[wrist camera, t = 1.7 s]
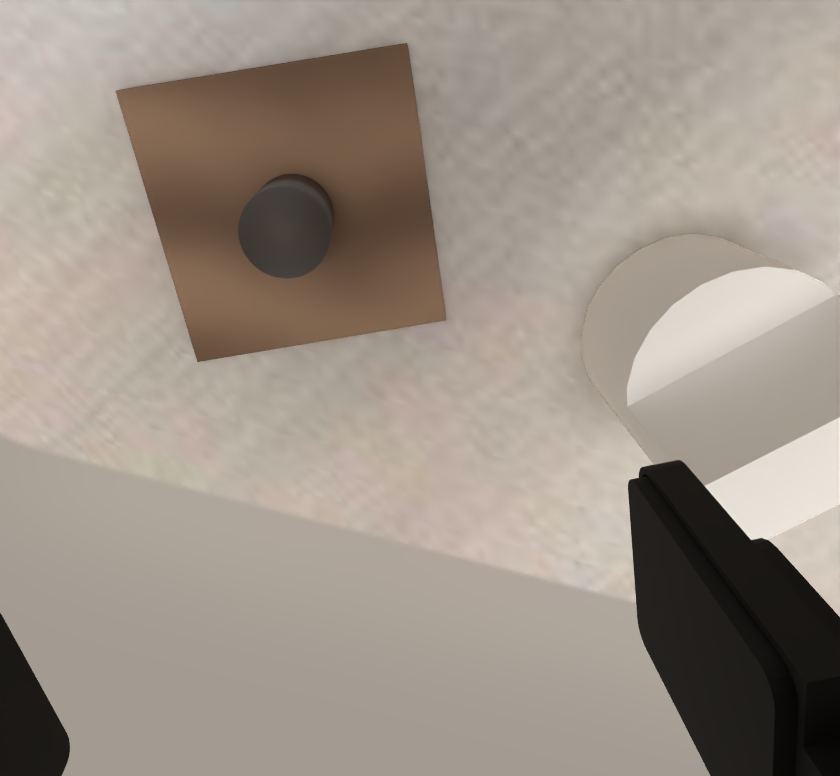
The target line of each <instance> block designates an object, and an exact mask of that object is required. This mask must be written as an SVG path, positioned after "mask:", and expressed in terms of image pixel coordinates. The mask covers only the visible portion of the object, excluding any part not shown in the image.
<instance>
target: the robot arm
mask: <svg viewBox="0 0 840 776" xmlns="http://www.w3.org/2000/svg"><path fill="white" fill-rule="evenodd" d="M628 494H629V507H630V521H631V535H632V549H633V562H634V576H635V590H636V604H637V618H638V625H639V630H640V634H641V637H642V640H643V643H644V645H645V647H646V649H647V651H648V653H649V655H650V657H651V659H652V661H653V663H654V665H655V667H656V669H657V671H658V673H659V675H660V677H661V679H662V681H663V683H664V685H665V687H666V689H667V691H668V693H669V694H670V697H671V699H672V700H673V703H674V704H675V706H676V708H677V710H678V712H679V714H680V716H681V718H682V720H683V722H684V724H685V726H686V728H687V730H688V732H689V734H690V736H691V738H692V740H693V742H694V744H695V746H696V748H697V750H698V752H699V754H700V756H701V758H702V760H703V762H704V763H705V766H706V768H707V770H708V771H709V773H710V775H711V776H840V617H839V616H838V615H837V614H836V613H835V611H834V610H833V609H832V608H831V607H830V606H829V605H828V604H827V603H826V601H825V600H824V599H823V598H822V597H821V596H820V595H819V594H818V593H817V592H816V590H815V589H814V588H813V587H812V586H811V585H810V584H809V583H808V582H807V580H806V579H805V578H804V577H803V576H802V575H801V574H800V573H799V572H798V570H797V569H796V568H795V567H794V566H793V565H792V564H791V563H790V562H789V561H788V559H787V558H786V557H785V556H784V555H783V554H782V553H781V552H780V551H779V549H778V548H777V547H776V546H774V545H773V544H772V543H771V542H770V541H769V540H766V539H763V538H759V539H754V540H751V539H750V538H749V537H748V536H747V535H746V534H745V532H744V531H743V530H742V529H741V528H740V527H739V525H738V524H737V523H736V522H735V521H734V520H733V518H732V517H731V516H730V515H729V514H728V513H727V512H726V510H725V509H724V508H723V507H722V506H721V505H720V503H719V502H718V501H717V500H716V499H715V498H714V496H713V495H712V494H711V493H710V492H709V491H708V489H707V488H706V487H705V486H704V485H703V484H702V483H701V481H700V480H699V479H698V478H697V477H696V476H695V474H694V473H693V472H692V471H691V470H690V469H689V467H688V466H687V465H686V464H685V463H684V462H683V461H682V460H675V461H670V462H665V463H660V464H655V465H650V466H645V467H642V468H641V469H640V472H639V478H636V479H631V480H630V481H629V483H628ZM69 752H70V743H69V738H68V735H67V733H66V731H65V729H64V727H63V726H62V724H61V722H60V720H59V718H58V717H57V715H56V713H55V711H54V709H53V707H52V706H51V704H50V702H49V700H48V698H47V696H46V695H45V693H44V691H43V689H42V687H41V686H40V684H39V682H38V680H37V678H36V677H35V675H34V673H33V671H32V669H31V667H30V666H29V664H28V662H27V660H26V658H25V657H24V655H23V653H22V651H21V649H20V647H19V646H18V644H17V642H16V640H15V639H14V637H13V635H12V633H11V631H10V629H9V627H8V626H7V624H6V622H5V620H4V618H3V617H2V615H1V614H0V776H61V775H62V773H63V771H64V768H65V766H66V764H67V761H68V758H69Z"/></svg>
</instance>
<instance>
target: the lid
mask: <svg viewBox="0 0 840 776" xmlns="http://www.w3.org/2000/svg"><path fill="white" fill-rule="evenodd" d="M116 93H117V97H118V100H119V103H120V107H121V110H122V113H123V117H124V120H125V123H126V127H127V130H128V133H129V136H130V140H131V143H132V146H133V150H134V153H135V156H136V160H137V163H138V166H139V170H140V173H141V176H142V179H143V183H144V186H145V189H146V193H147V196H148V199H149V203H150V206H151V209H152V213H153V216H154V219H155V222H156V226H157V229H158V232H159V236H160V239H161V242H162V246H163V249H164V252H165V256H166V259H167V262H168V265H169V269H170V272H171V275H172V279H173V282H174V285H175V289H176V292H177V295H178V299H179V302H180V305H181V308H182V312H183V315H184V318H185V322H186V325H187V328H188V332H189V335H190V338H191V341H192V345H193V348H194V351H195V355H196V358H197V361H198V362H200V361H206V360H212V359H218V358H224V357H230V356H236V355H242V354H248V353H254V352H259V351H265V350H271V349H277V348H283V347H289V346H295V345H301V344H307V343H313V342H319V341H325V340H331V339H337V338H343V337H349V336H355V335H361V334H367V333H373V332H379V331H385V330H391V329H397V328H403V327H409V326H414V325H420V324H426V323H432V322H438V321H444V320H446V315H445V308H444V301H443V293H442V286H441V279H440V272H439V265H438V258H437V251H436V244H435V237H434V229H433V222H432V215H431V208H430V201H429V194H428V187H427V180H426V173H425V166H424V158H423V151H422V144H421V137H420V130H419V123H418V116H417V109H416V102H415V95H414V87H413V80H412V73H411V66H410V59H409V52H408V45H407V43H405V44H398V45H392V46H386V47H380V48H374V49H368V50H362V51H356V52H350V53H343V54H337V55H331V56H325V57H319V58H313V59H307V60H301V61H294V62H288V63H282V64H276V65H270V66H264V67H258V68H252V69H245V70H239V71H233V72H227V73H221V74H215V75H209V76H203V77H197V78H190V79H184V80H178V81H172V82H166V83H160V84H154V85H148V86H141V87H135V88H129V89H123V90H117V91H116Z"/></svg>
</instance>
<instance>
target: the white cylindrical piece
mask: <svg viewBox="0 0 840 776" xmlns="http://www.w3.org/2000/svg"><path fill="white" fill-rule="evenodd" d="M581 337H582V359H583V362H584V365H585V367H586V370H587V373H588V376H589V379H590V381H591V382H592V384H593V385H594V386H595V388H596V389H597V390H598V392H599V393H600V395H601V396H602V397H603V399H604V400H605V401H606V402H607V404H608V405H609V406H610V408H611V409H612V410H613V412H614V413H615V414H616V416H617V417H618V418H619V420H620V421H621V422H622V423H623V425H624V426H625V427H626V429H627V430H628V431H629V433H630V434H631V435H632V437H633V438H634V439H635V440H636V442H637V443H638V444H639V446H640V447H641V448H642V450H643V451H644V452H645V454H646V455H647V456H648V457H649V459H650V460H651V461H652V463H653V464H654V465H655V464H660V463H665V462H670V461H675V460H682V461H683V462H684V463H685V464H686V465H687V466H688V467H689V469H690V470H691V471H692V472H693V473H694V474H695V476H696V477H697V478H698V479H699V480H700V481H701V483H702V484H703V485H704V486H705V487H706V488H707V489H708V491H709V492H710V493H711V494H712V495H713V496H714V498H715V499H716V500H717V501H718V502H719V503H720V505H721V506H722V507H723V508H724V509H725V510H726V512H727V513H728V514H729V515H730V516H731V517H732V518H733V520H734V521H735V522H736V523H737V524H738V525H739V527H740V528H741V529H742V530H743V531H744V532H745V534H746V535H747V536H748V537H749V538H750V539H751V540H754V539H759V538H763V539H766V540H768V539H770V538H772V537H774V536H776V535H778V534H780V533H782V532H784V531H786V530H788V529H790V528H792V527H794V526H796V525H798V524H800V523H802V522H805V521H807V520H809V519H811V518H813V517H815V516H817V515H819V514H821V513H823V512H825V511H827V510H829V509H831V508H833V507H835V506H837V505H839V504H840V296H839V295H836V294H835V293H834V292H833V291H832V290H831V289H830V288H829V287H828V286H827V285H826V284H825V283H823V282H822V281H820V280H818V279H815V278H813V277H811V276H809V275H806V274H804V273H802V272H799V271H797V270H795V269H793V268H790V267H788V266H786V265H783V264H781V263H779V262H776V261H774V260H772V259H769V258H767V257H765V256H762V255H760V254H758V253H755V252H753V251H751V250H748V249H746V248H743V247H741V246H739V245H736V244H734V243H732V242H729V241H727V240H725V239H722V238H720V237H717V236H709V235H701V234H686V235H680V236H673V237H667V238H664V239H661V240H659V241H657V242H654V243H652V244H650V245H647V246H645V247H643V248H640V249H639V250H637V251H636V252H635V253H633V254H632V255H631V256H629V257H628V258H627V259H625V260H624V261H622V262H621V263H620V264H618V265H617V266H616V267H615V269H614V270H613V271H612V272H611V273H610V274H609V276H608V277H607V278H606V279H605V280H604V281H603V283H602V284H601V285H600V286H599V288H598V290H597V292H596V294H595V296H594V298H593V300H592V302H591V304H590V305H589V307H588V309H587V313H586V317H585V321H584V326H583V330H582V335H581Z"/></svg>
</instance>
